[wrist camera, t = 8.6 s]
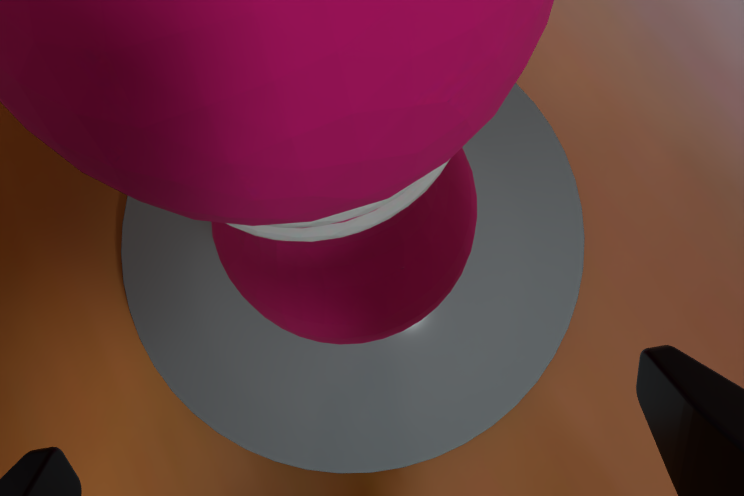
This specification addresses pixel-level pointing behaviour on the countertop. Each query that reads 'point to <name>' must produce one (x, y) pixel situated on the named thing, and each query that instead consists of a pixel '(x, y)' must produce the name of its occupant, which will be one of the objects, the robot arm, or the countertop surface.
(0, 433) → the countertop surface
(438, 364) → the disc
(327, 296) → the pepper mill
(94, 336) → the countertop surface
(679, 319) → the countertop surface
